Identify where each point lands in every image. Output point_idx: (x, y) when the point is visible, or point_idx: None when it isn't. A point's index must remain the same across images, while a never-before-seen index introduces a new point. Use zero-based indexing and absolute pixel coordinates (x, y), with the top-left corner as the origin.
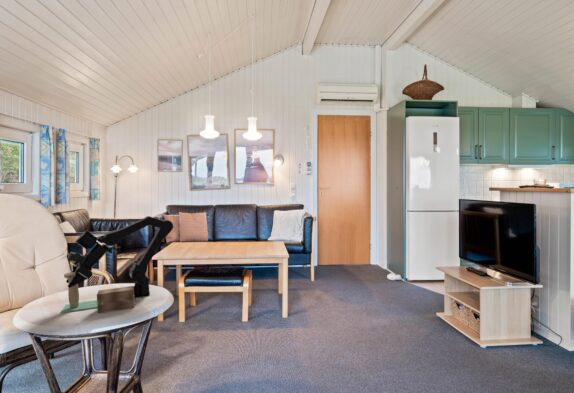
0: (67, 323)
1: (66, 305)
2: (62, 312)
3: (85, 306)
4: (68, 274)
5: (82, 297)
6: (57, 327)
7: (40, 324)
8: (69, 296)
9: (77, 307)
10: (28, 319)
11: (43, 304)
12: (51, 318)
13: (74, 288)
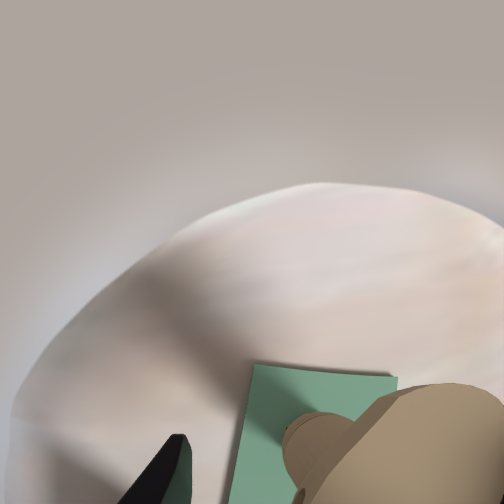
0: (67, 384)
1: (376, 383)
2: (253, 374)
3: (274, 493)
4: (367, 482)
5: None
6: (50, 342)
7: (136, 277)
8: (300, 423)
9: None
10: (257, 220)
11: (465, 257)
12: (193, 321)
13: (294, 481)
